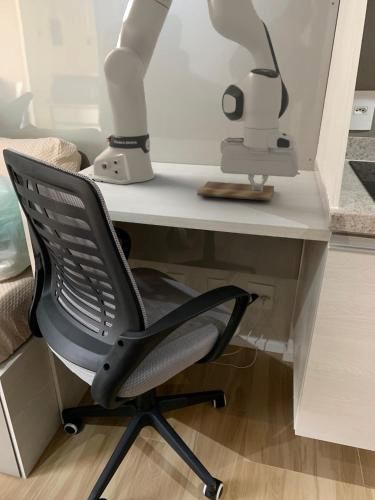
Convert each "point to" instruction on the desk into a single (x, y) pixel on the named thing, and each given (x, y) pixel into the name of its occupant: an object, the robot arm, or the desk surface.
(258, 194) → the plank
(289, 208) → the desk surface
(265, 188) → the laid board
